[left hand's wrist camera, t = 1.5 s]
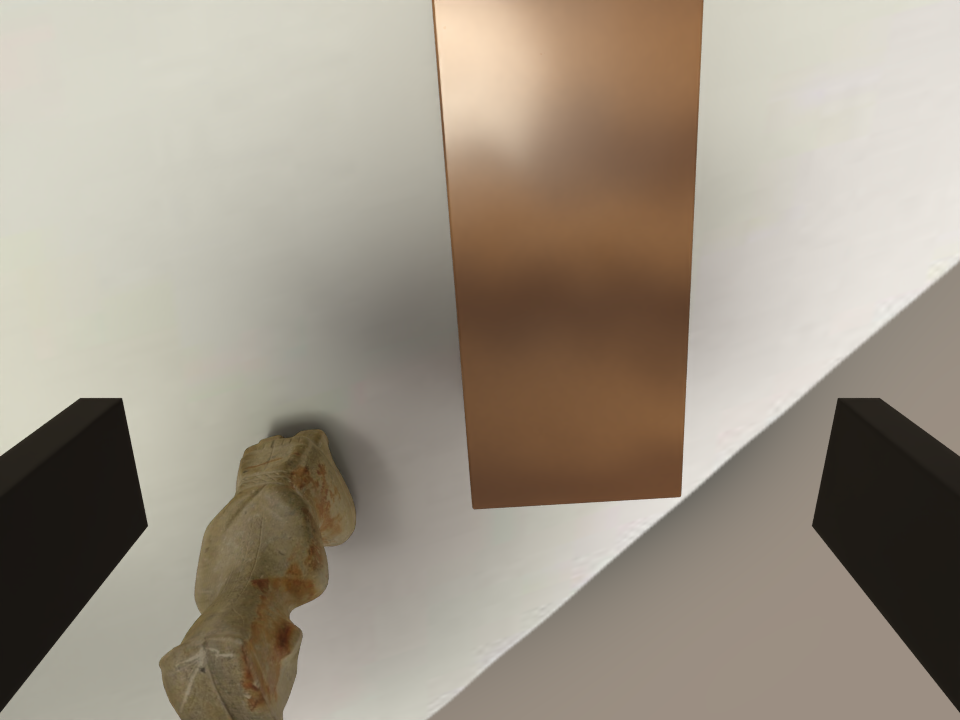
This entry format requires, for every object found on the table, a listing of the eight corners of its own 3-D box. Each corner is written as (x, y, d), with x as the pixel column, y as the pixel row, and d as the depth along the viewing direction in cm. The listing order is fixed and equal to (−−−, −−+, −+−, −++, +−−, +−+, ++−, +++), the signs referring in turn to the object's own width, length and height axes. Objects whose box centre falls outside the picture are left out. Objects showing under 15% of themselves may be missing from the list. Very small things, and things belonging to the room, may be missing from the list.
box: (625, 391, 36) (681, 497, 26) (473, 401, 36) (472, 510, 26) (632, -212, 27) (722, -394, 17) (428, -196, 27) (402, -368, 17)
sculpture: (273, 535, 39) (159, 777, 25) (240, 422, 36) (92, 621, 22) (373, 521, 39) (315, 759, 24) (346, 408, 36) (264, 599, 22)
